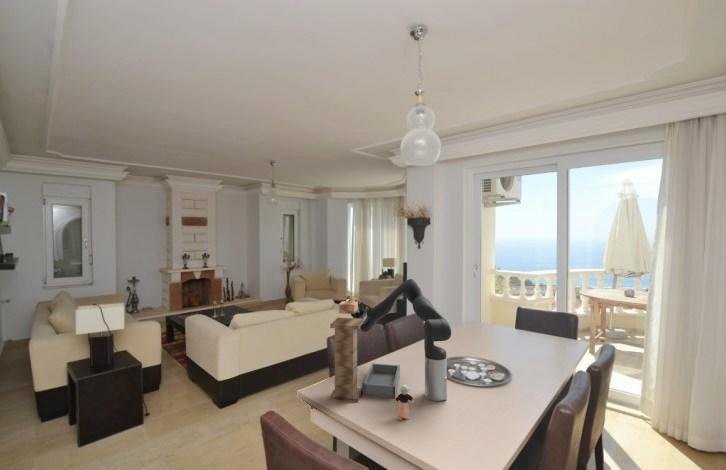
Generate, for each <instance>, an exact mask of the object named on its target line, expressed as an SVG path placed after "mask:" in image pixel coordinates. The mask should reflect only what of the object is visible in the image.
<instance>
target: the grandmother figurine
mask: <svg viewBox="0 0 726 470" xmlns="http://www.w3.org/2000/svg"><path fill="white" fill-rule="evenodd" d="M399 389H400V393H399V394H398V395H397V397H395V400H394V402H393V404H394V405H397V403H398V402H399V403H398V414H397V415H398V416H397V420H399V421H401V420H403V419H404V420H410V417H409V406H410V405H409V401H410V403H411V404H415V401H414V398H413V397H412V395H410V394H409V393H408V392H409V391H410V388H409V387H408V385H406V384H401V385H400V386H399Z"/></svg>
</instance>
